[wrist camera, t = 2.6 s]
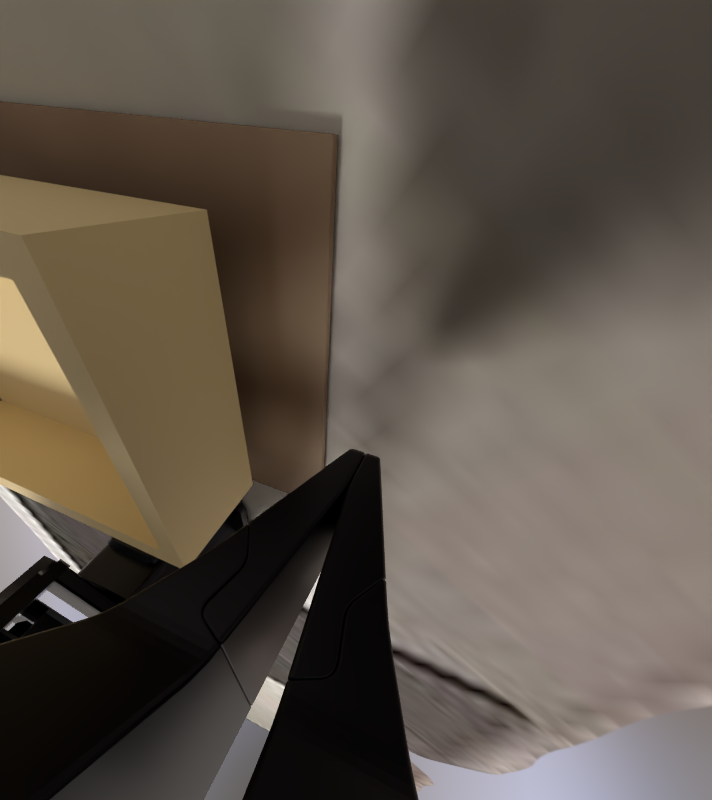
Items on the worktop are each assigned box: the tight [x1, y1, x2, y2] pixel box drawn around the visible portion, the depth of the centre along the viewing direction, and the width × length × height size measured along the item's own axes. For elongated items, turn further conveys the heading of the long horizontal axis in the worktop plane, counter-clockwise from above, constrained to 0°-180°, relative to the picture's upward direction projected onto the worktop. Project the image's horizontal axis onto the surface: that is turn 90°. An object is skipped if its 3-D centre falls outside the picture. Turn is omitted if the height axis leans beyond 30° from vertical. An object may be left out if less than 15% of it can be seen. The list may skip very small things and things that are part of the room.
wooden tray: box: [0, 175, 253, 568], centre depth 12 cm, size 11×17×5 cm, turn 85°
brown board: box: [0, 102, 338, 493], centre depth 15 cm, size 14×32×1 cm, turn 85°
